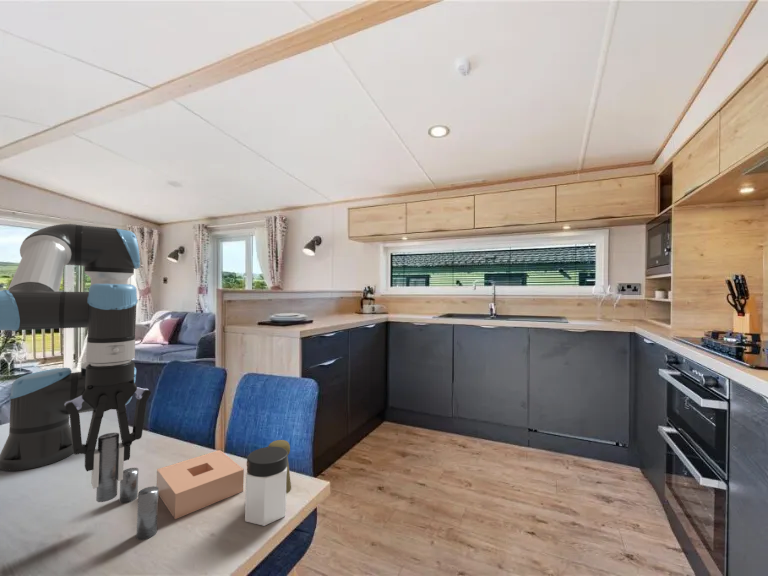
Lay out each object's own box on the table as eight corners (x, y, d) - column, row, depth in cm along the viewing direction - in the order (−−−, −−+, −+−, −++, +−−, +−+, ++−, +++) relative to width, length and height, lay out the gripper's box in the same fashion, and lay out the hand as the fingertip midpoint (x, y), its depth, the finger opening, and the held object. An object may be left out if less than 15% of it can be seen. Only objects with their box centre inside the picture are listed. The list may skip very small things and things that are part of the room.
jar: (277, 495, 78) (278, 442, 78) (295, 512, 72) (296, 454, 72) (237, 512, 72) (238, 454, 72) (253, 532, 66) (254, 469, 66)
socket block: (156, 491, 79) (156, 469, 79) (219, 469, 89) (219, 449, 89) (174, 519, 69) (175, 494, 69) (243, 491, 79) (243, 469, 79)
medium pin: (134, 533, 65) (136, 490, 65) (154, 525, 67) (156, 484, 67) (138, 542, 63) (140, 497, 63) (158, 534, 65) (160, 491, 65)
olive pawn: (283, 498, 77) (284, 449, 77) (259, 495, 78) (260, 446, 78) (295, 484, 83) (296, 438, 83) (272, 481, 84) (273, 435, 84)
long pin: (95, 496, 67) (97, 435, 67) (115, 490, 70) (117, 431, 70) (97, 504, 65) (99, 441, 65) (118, 497, 67) (120, 436, 67)
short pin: (118, 498, 76) (119, 471, 76) (135, 492, 78) (136, 466, 78) (121, 504, 74) (122, 476, 74) (139, 498, 76) (139, 471, 76)
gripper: (55, 371, 59) (51, 508, 59) (163, 359, 71) (160, 473, 71) (53, 364, 64) (48, 489, 64) (154, 354, 76) (150, 460, 76)
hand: (107, 480), depth 67 cm, fingers closed on long pin, 3 cm apart
